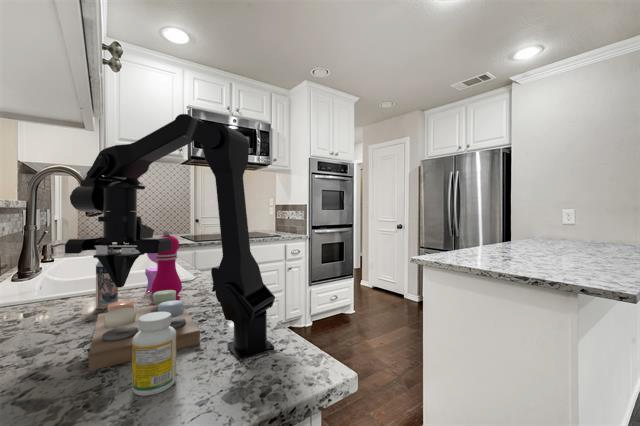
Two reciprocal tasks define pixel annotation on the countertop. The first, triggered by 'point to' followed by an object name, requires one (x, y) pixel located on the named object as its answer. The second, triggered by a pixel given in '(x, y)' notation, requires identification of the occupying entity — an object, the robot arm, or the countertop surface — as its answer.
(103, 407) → the countertop surface
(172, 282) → the pepper mill
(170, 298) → the sage button
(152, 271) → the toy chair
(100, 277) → the beer can
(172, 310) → the slate blue button
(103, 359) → the wooden button board
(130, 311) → the cream button
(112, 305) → the terracotta button
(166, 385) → the supplement bottle
